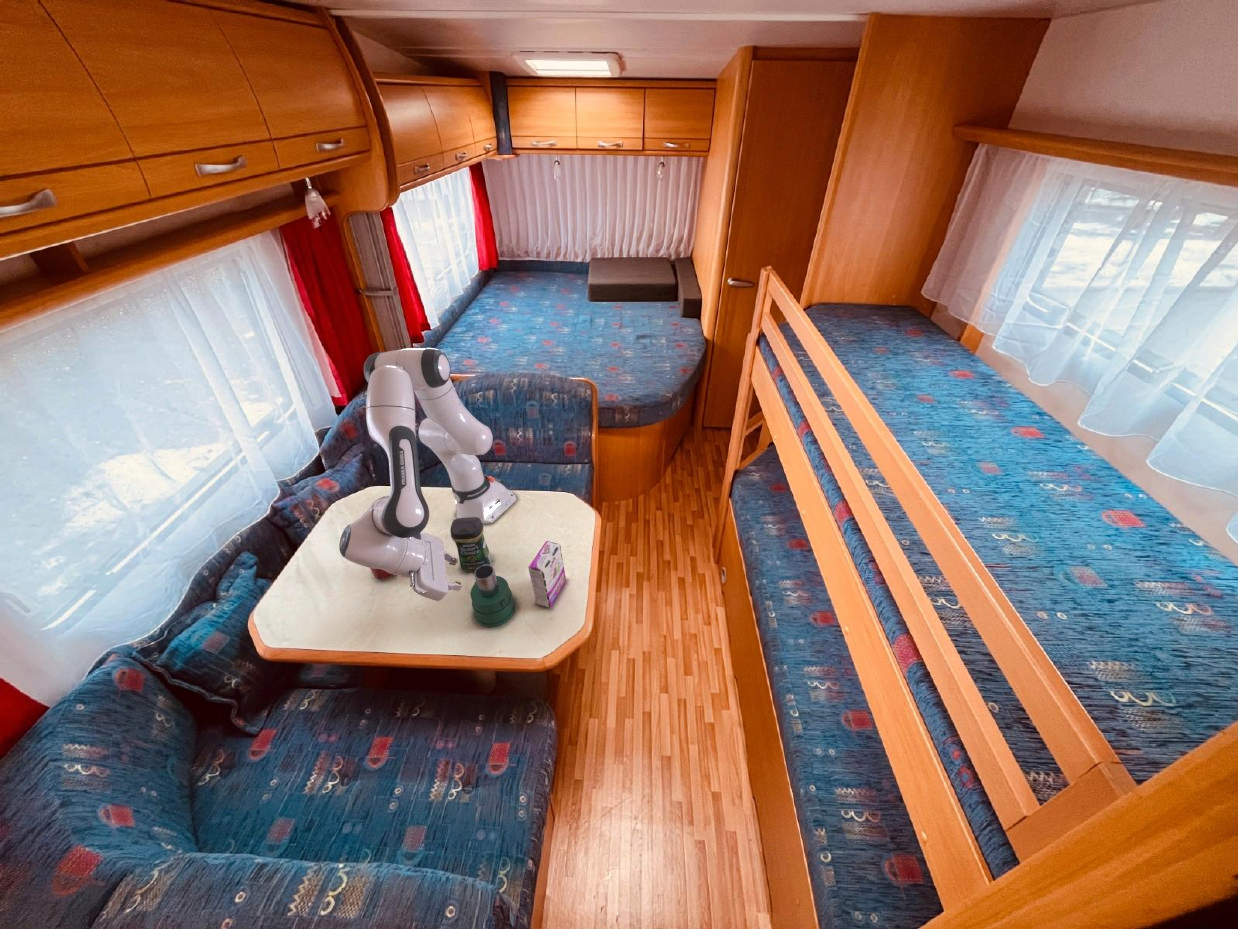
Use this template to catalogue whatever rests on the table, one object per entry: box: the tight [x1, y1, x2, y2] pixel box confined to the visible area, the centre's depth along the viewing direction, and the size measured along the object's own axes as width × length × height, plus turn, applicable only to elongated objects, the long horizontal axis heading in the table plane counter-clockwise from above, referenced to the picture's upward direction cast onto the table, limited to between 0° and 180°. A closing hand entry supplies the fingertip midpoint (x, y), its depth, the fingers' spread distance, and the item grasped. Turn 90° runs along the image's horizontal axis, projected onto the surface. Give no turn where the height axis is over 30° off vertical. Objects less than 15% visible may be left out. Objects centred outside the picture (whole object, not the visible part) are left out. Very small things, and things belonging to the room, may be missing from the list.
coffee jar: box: [449, 517, 492, 573], centre depth 148 cm, size 10×8×19 cm
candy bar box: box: [527, 540, 567, 609], centre depth 138 cm, size 11×5×16 cm, turn 160°
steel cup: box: [473, 564, 499, 597], centre depth 131 cm, size 5×5×8 cm
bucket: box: [469, 575, 517, 628], centre depth 136 cm, size 12×12×9 cm
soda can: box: [369, 568, 394, 580], centre depth 148 cm, size 7×7×12 cm
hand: (458, 574), depth 126 cm, fingers open, 8 cm apart
